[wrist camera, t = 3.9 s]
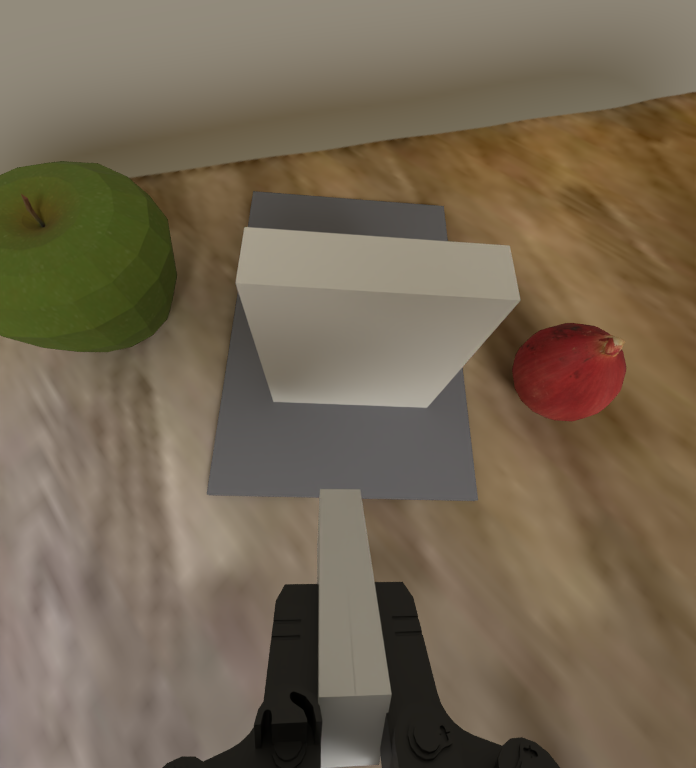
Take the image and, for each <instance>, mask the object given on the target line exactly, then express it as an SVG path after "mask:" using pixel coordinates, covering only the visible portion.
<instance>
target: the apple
mask: <svg viewBox="0 0 696 768" xmlns="http://www.w3.org/2000/svg"><path fill="white" fill-rule="evenodd" d="M176 278H177V272H176V267H175V261H174V255H173V249H172V243H171V237H170V231H169V226H168V220H167V218H166V217H165V215H164V214H163V213H162V211H161V210H160V209H159V208H158V206H157V205H156V204H155V202H154V201H153V200H152V199H151V197H150V196H149V195H148V194H147V193H146V192H144V191H143V190H142V189H141V188H140V187H139V186H137V185H136V184H135V183H134V182H133V181H132V180H130V179H129V178H128V177H127V176H124V175H122V174H120V173H118V172H115V171H113V170H111V169H109V168H107V167H104V166H102V165H100V164H98V163H81V162H65V161H60V162H52V163H44V164H38V165H31V166H25V167H19V168H15V169H13V170H11V171H9V172H6V173H4V174H2V175H0V335H1V336H3V337H6V338H10V339H14V340H17V341H21V342H25V343H28V344H32V345H35V346H39V347H43V348H50V349H59V350H68V351H77V352H110V351H114V350H119V349H124V348H128V347H132V346H134V345H136V344H138V343H139V342H141V341H143V340H145V339H147V338H148V337H150V336H152V335H153V334H154V333H155V332H156V331H157V330H158V329H159V328H160V326H161V325H162V324H163V323H164V322H165V321H166V320H167V318H168V315H169V311H170V307H171V303H172V299H173V294H174V289H175V284H176Z"/></svg>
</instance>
